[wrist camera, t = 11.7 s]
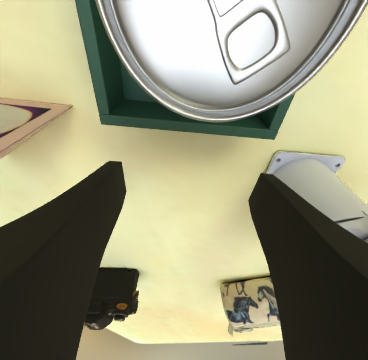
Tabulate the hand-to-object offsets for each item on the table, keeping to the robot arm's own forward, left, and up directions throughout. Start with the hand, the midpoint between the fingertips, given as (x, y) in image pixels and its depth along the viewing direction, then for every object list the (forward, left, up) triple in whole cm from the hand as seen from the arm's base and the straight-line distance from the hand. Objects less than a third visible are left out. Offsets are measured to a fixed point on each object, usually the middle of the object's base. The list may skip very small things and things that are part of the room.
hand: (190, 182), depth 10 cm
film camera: (-39, +14, -11) cm, 43 cm away
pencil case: (-36, -22, -11) cm, 44 cm away
